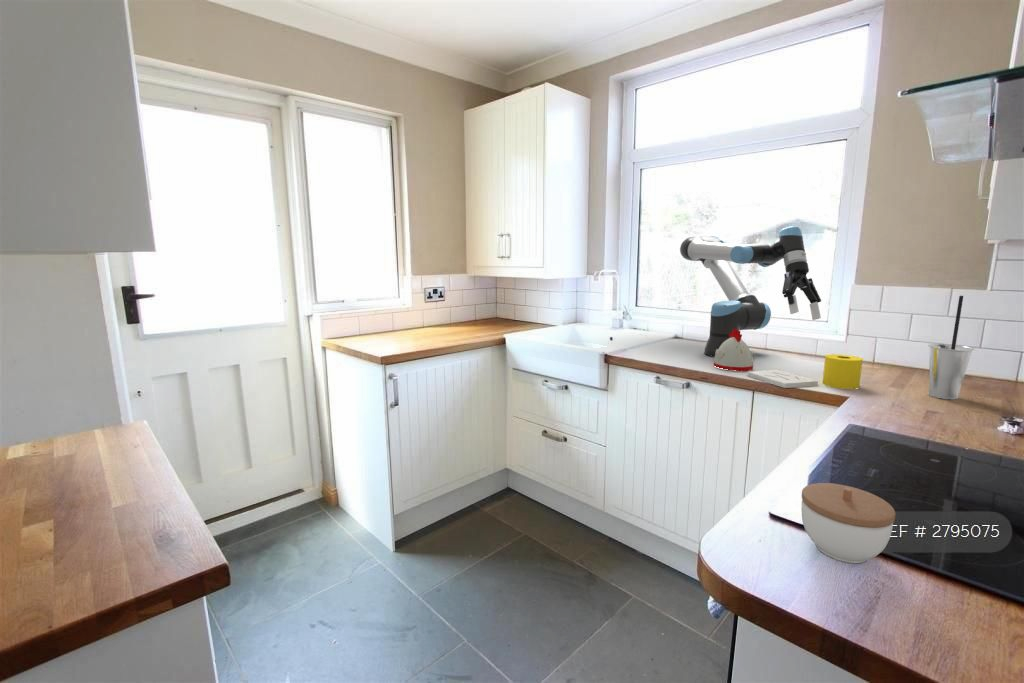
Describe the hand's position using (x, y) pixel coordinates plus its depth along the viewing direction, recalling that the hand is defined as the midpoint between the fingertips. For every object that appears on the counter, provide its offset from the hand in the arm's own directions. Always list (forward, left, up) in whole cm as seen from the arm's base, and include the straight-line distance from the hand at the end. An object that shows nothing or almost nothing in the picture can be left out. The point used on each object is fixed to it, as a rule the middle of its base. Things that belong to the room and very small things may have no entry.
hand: (805, 316), depth 175 cm
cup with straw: (+41, +11, -20) cm, 47 cm away
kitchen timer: (-9, -23, -20) cm, 32 cm away
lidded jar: (+96, -87, -20) cm, 131 cm away
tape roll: (+23, -7, -20) cm, 32 cm away
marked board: (+13, -21, -20) cm, 32 cm away
